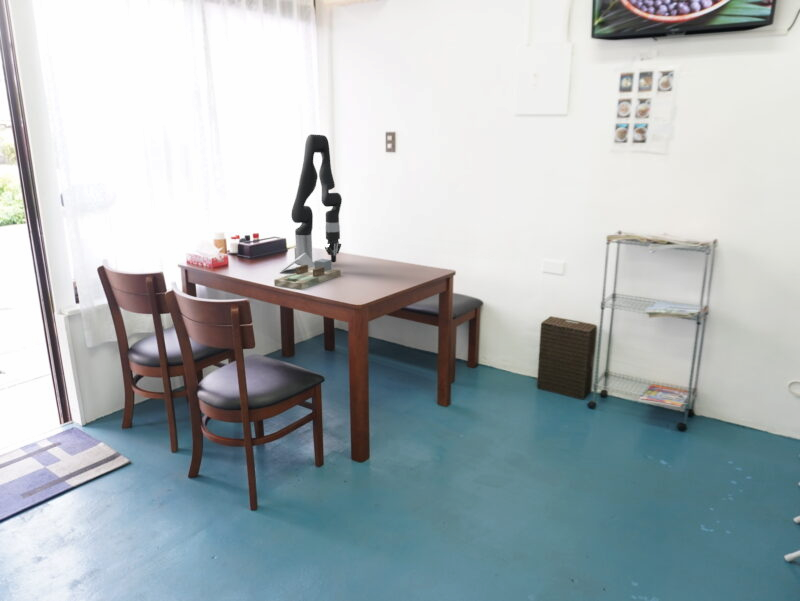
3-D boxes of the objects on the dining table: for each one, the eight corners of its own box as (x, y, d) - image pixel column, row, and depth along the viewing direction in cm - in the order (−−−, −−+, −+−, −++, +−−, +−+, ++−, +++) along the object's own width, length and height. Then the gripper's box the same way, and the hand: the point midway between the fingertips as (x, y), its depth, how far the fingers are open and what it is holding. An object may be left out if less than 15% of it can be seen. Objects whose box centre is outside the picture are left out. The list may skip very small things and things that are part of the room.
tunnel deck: (274, 285, 281) (273, 272, 279) (316, 271, 311) (315, 260, 309) (300, 289, 274) (300, 276, 272) (340, 275, 304) (340, 263, 302)
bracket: (305, 252, 324) (297, 258, 305) (316, 265, 326) (309, 273, 306) (287, 265, 326) (279, 272, 307) (298, 278, 328) (290, 287, 309)
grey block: (314, 270, 301) (314, 261, 300) (322, 267, 307) (322, 258, 305) (324, 271, 298) (323, 262, 297) (331, 269, 304) (331, 259, 303)
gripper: (333, 228, 313) (334, 259, 317) (319, 231, 301) (321, 263, 306) (345, 229, 309) (346, 260, 314) (331, 232, 298) (332, 264, 303)
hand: (333, 262), depth 310 cm, fingers closed
